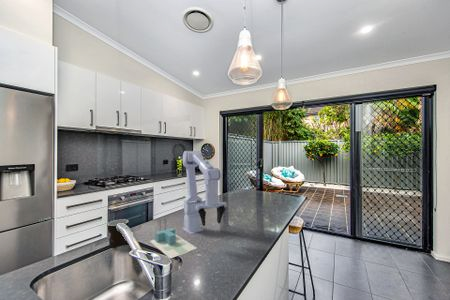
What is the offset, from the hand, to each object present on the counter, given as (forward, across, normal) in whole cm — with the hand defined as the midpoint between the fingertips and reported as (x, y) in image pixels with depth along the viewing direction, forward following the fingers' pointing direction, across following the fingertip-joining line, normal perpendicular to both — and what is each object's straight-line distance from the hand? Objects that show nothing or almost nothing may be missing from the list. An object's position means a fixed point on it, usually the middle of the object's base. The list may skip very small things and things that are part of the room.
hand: (211, 223), depth 89 cm
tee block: (+9, -17, +12) cm, 23 cm away
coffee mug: (+10, -39, +18) cm, 44 cm away
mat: (+10, -16, +8) cm, 20 cm away
